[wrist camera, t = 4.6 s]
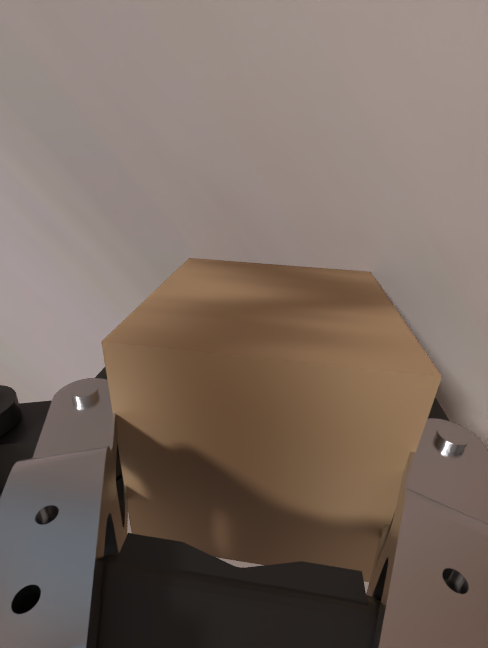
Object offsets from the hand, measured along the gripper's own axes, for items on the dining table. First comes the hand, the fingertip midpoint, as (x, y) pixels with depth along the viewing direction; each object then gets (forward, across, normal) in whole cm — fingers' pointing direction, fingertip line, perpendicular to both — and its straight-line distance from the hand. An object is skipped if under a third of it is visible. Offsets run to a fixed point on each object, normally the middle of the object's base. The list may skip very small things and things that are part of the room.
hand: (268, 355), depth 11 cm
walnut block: (+1, 0, 0) cm, 1 cm away
